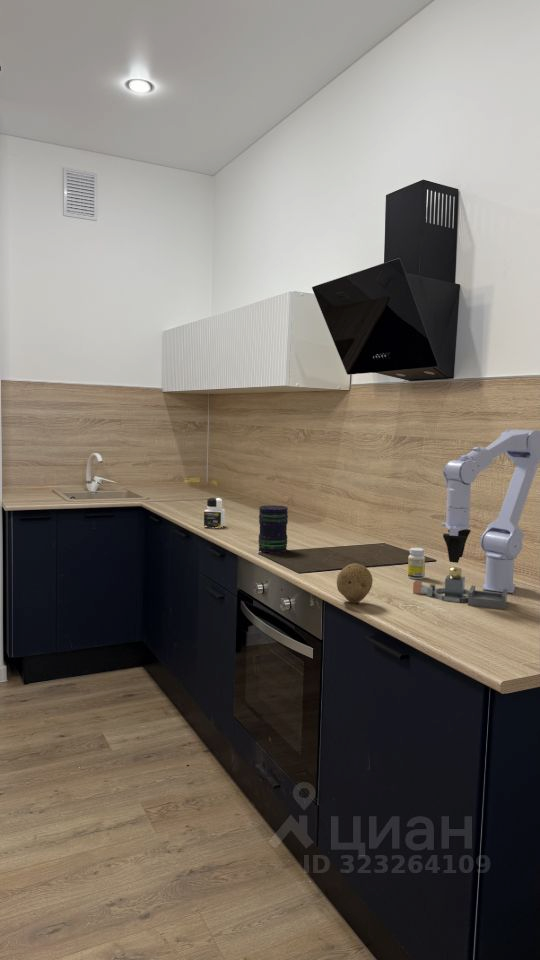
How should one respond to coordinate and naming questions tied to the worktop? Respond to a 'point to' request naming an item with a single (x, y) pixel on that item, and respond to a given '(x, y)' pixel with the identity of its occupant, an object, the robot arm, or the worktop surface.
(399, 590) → the worktop surface
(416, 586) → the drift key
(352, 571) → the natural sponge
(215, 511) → the medicine bottle
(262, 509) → the storage jar
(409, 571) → the supplement bottle
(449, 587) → the gold-capped square jar
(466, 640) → the worktop surface
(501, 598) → the rack
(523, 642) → the worktop surface
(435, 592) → the socket
